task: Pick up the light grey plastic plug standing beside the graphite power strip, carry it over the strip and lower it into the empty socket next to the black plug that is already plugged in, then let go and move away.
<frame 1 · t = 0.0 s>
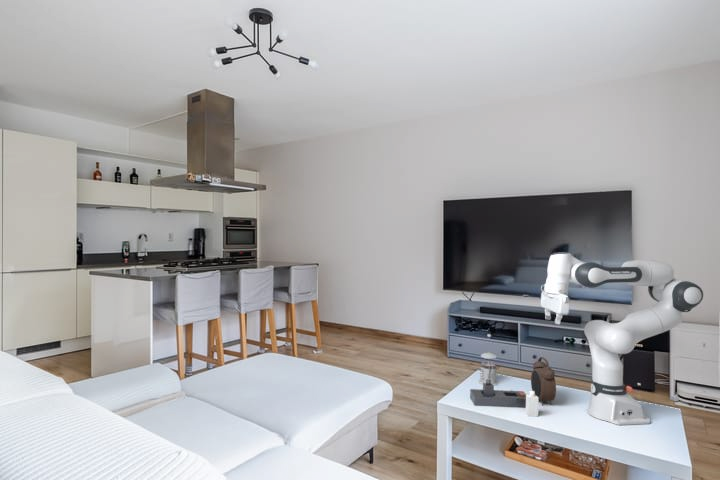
hand: (552, 321, 174), 39 cm above the table, tool pointing down, fingers open, 8 cm apart
strip: (499, 402, 184), on the table
plug: (531, 415, 171), on the table
french press: (488, 383, 209), on the table
alarm clock: (542, 402, 186), on the table
twin plug: (488, 402, 184), resting in strip
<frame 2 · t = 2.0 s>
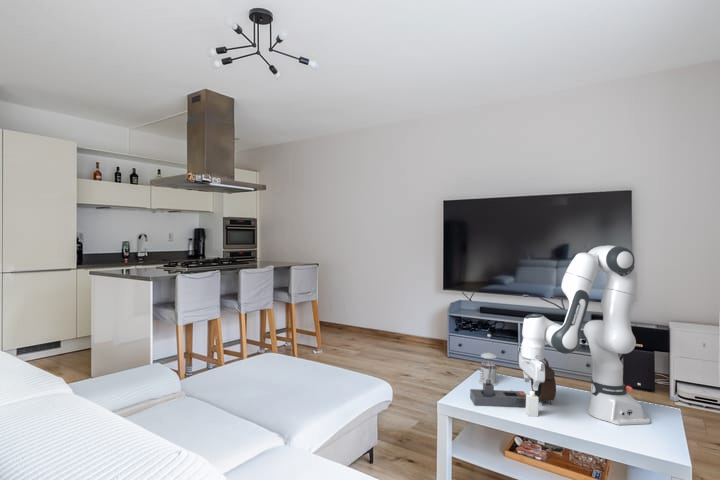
hand: (530, 385, 171), 12 cm above the table, tool pointing down, fingers open, 8 cm apart
nothing on the table moved.
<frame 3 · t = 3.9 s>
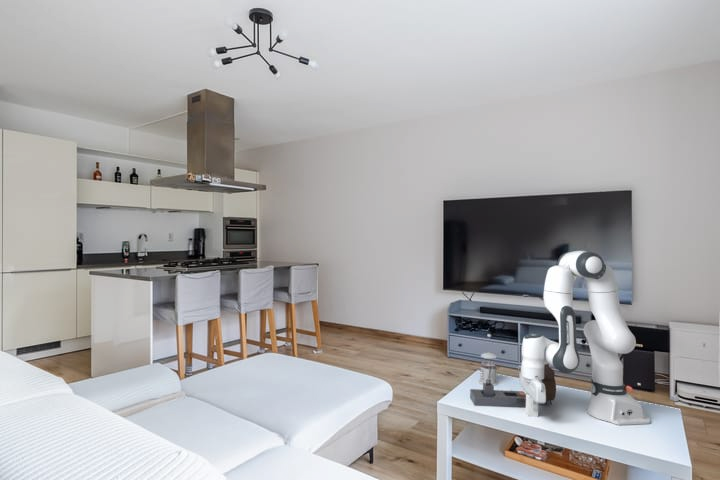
hand: (532, 405, 171), 4 cm above the table, tool pointing down, fingers closed on plug, 3 cm apart
plug: (531, 415, 171), on the table, touching gripper
everything else where it was.
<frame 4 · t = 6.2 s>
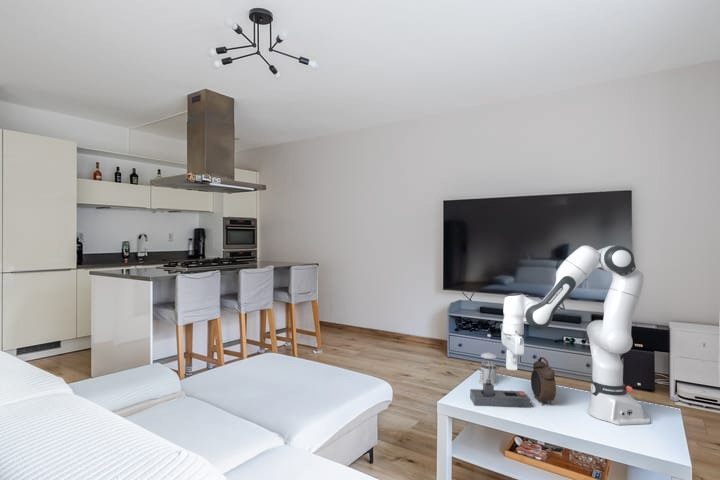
hand: (512, 360, 183), 20 cm above the table, tool pointing down, fingers closed on plug, 3 cm apart
plug: (511, 368, 183), point 16 cm above the table, touching gripper
everything else where it was.
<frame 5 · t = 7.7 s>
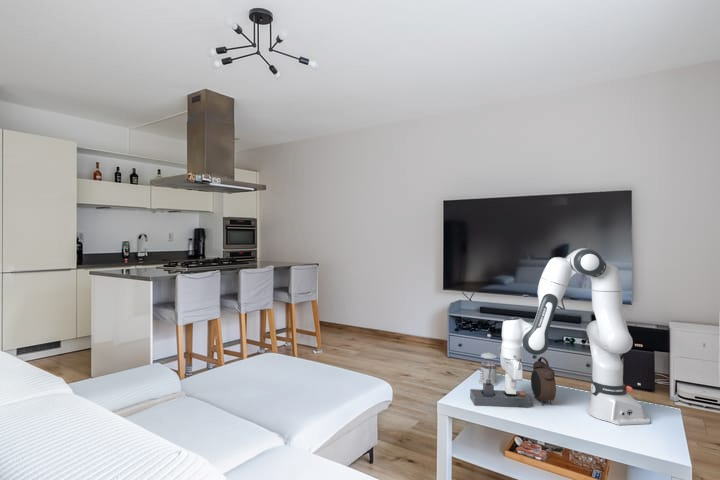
hand: (510, 384, 184), 9 cm above the table, tool pointing down, fingers closed on plug, 3 cm apart
plug: (510, 392, 184), point 5 cm above the table, touching gripper
everything else where it was.
when the fingers open (5 cm above the table, at t = 8.7 s): plug drops 1 cm, resting in strip.
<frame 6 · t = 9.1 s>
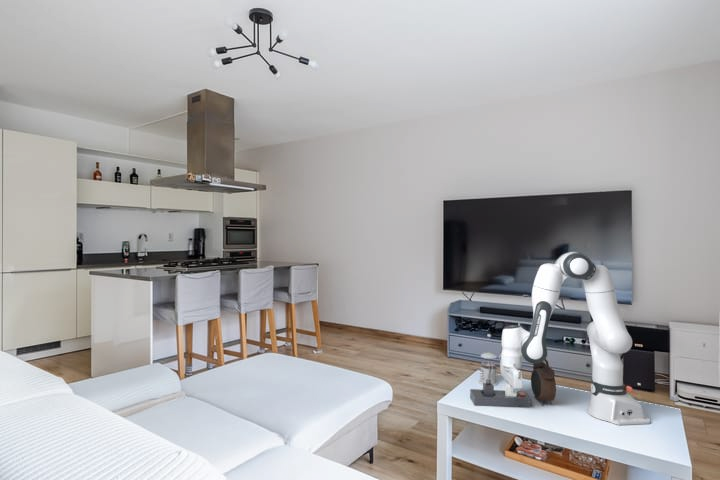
hand: (510, 392, 184), 5 cm above the table, tool pointing down, fingers open, 7 cm apart
plug: (510, 403, 184), resting in strip
everything else where it was.
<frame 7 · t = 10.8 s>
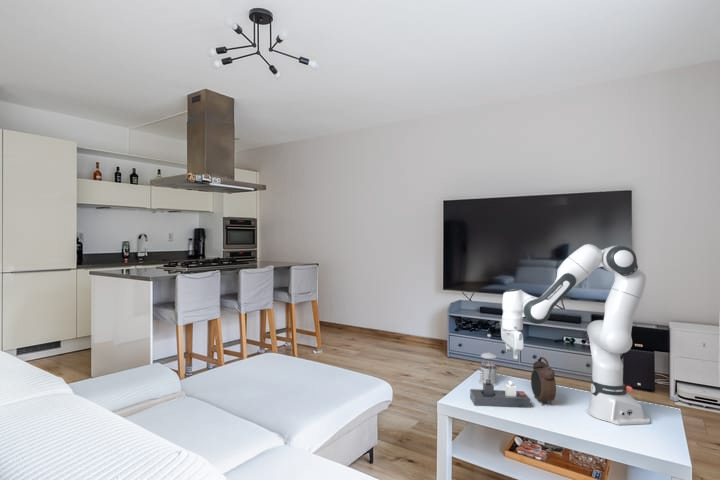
hand: (511, 355, 184), 21 cm above the table, tool pointing down, fingers open, 8 cm apart
nothing on the table moved.
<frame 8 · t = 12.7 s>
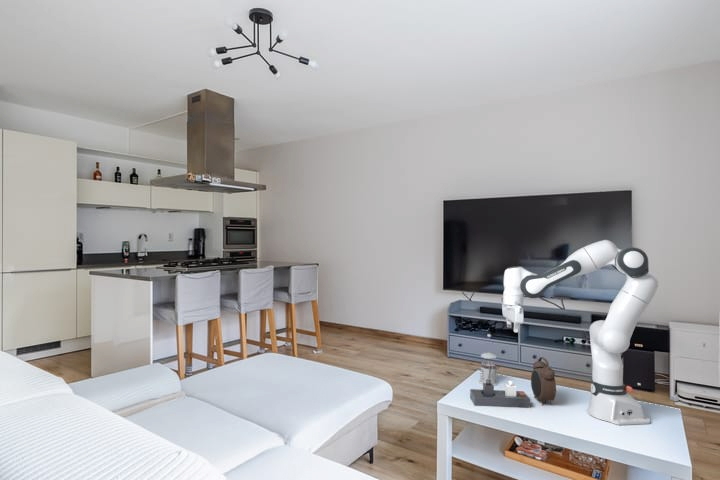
hand: (512, 329, 193), 31 cm above the table, tool pointing down, fingers open, 8 cm apart
nothing on the table moved.
at the end: plug 0.1 cm from the target spot on the strip, point 0.0 cm above the strip's base; plug tilted 0°; twin plug moved 0.0 cm from its start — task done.
